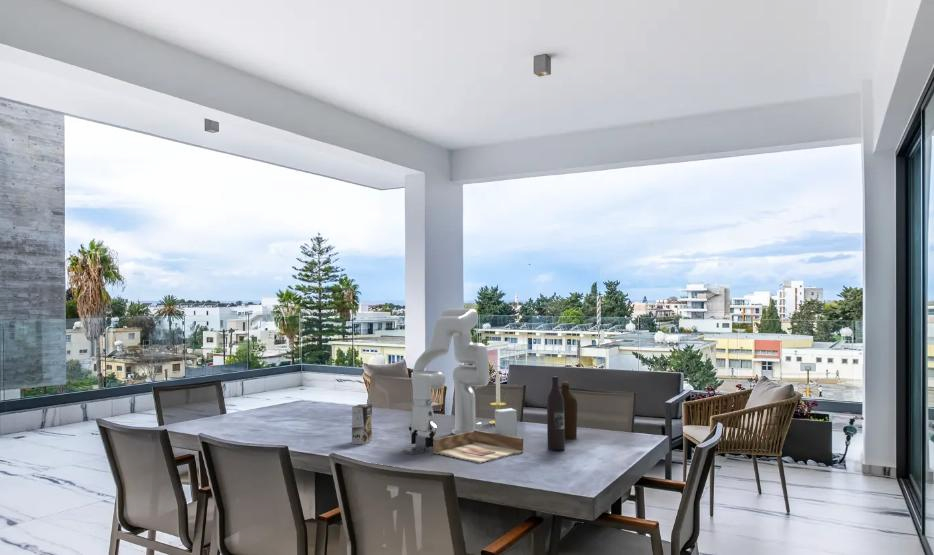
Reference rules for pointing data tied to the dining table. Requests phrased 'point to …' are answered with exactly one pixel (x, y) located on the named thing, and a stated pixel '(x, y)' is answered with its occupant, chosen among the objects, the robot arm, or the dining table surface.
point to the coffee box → (362, 424)
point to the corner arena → (478, 446)
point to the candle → (497, 396)
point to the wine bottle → (555, 418)
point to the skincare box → (506, 422)
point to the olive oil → (569, 411)
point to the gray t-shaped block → (418, 446)
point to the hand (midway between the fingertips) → (422, 445)
